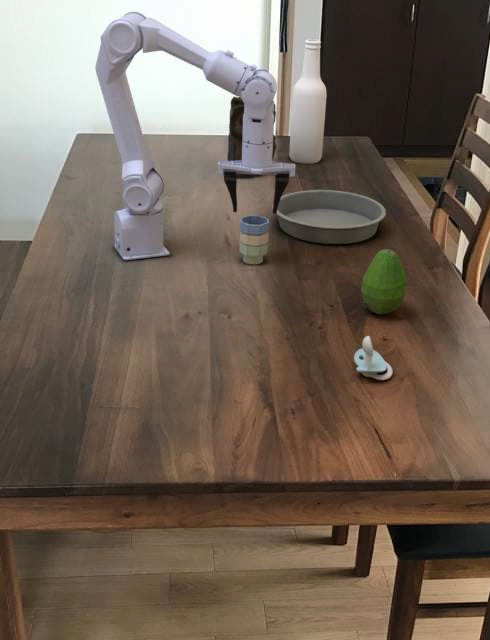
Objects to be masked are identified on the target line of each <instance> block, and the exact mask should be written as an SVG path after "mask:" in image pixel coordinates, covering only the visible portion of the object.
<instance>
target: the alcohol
mask: <svg viewBox="0 0 490 640" xmlns="http://www.w3.org/2000/svg"><path fill="white" fill-rule="evenodd" d="M304 43H305V44H304V55H303V63H302V70H301V75H300V78H298V80H297V81H296V83H295V84H294V85H293V90H292V96H291V97H292V98H291V113H290V114H291V116H290V133H289V152H288V156H289V159H290V160H291V161H292V162H294V163H298V164H304V165H308V164H309V165H312V164H316V163H318V162H320V161H321V160H322V158H323V147H324V135H325V134H324V133H325V122H326V121H325V120H326V108H327V107H326V106H327V97H328V95H327V87H326V85H325V83H324V82H323V81H322V77H321V47H322V46H321V44H322V42H321V40H320V39H316V38H308V39H306V40H305V41H304Z"/></svg>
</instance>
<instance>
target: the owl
mask: <svg viewBox="0 0 490 640" xmlns="http://www.w3.org/2000/svg"><path fill="white" fill-rule="evenodd" d="M229 104H230V109H229V124H228V131H229V132H228V135H227V137H228V138H227V141H228V143H227V145H228V146H227V160H226V161H238V160H242V138H243V115H244V102H243V100H242V97H241V96H235V95H233V96H232V98H231V99H230V103H229ZM273 114H274V124H275V123H276V117H277V111H276V104H275V102H274V112H273ZM276 137H277V136H276V135H275V134H274V133H273V152H272V161H273V162H274V158H275V156H276V155H275V154H276V150H277V143H276V139H277V138H276ZM254 177H261V175H258V174H237V179H253V178H254Z"/></svg>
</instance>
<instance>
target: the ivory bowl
mask: <svg viewBox="0 0 490 640" xmlns="http://www.w3.org/2000/svg"><path fill="white" fill-rule="evenodd" d="M240 242H241V243H243V244H245V245H247V246H262V245H264V244H266V243H267V242H268V243H269V231H268V232H267V233H265V234H263V235H260V236H252V235H247V234H244V233H243V232H241V231H240V230H239V243H240Z"/></svg>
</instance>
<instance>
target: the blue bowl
mask: <svg viewBox="0 0 490 640" xmlns="http://www.w3.org/2000/svg"><path fill="white" fill-rule="evenodd" d="M239 222H240V223H239V232H240V231H241V232H243V233H244V234H247V235H252V236H260V235H263V234H265V233H267V232H268V233H269V229H270V228H269V227H270V219H269V218H268V217H265V216H262V215H252V214H249V215H244V216H242V217H241V216H240V219H239Z"/></svg>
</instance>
